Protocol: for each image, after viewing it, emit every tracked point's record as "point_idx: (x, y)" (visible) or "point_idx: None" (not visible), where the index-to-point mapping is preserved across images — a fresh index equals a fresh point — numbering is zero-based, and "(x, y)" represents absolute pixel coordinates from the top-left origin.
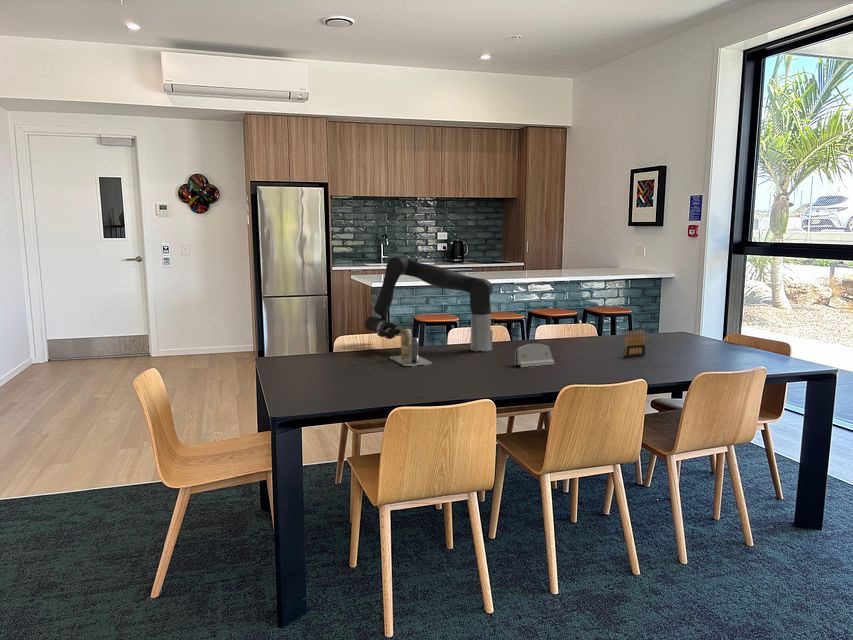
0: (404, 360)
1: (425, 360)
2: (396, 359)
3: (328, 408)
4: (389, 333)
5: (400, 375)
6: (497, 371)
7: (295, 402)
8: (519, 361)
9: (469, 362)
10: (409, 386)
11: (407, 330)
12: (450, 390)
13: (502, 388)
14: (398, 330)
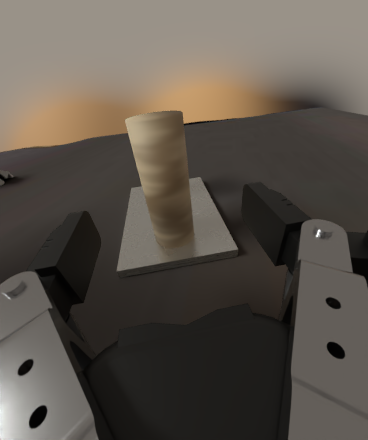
0: (192, 203)
1: (135, 200)
2: (215, 212)
3: (286, 113)
4: (256, 182)
5: (217, 154)
6: (65, 167)
7: (327, 114)
8: (1, 170)
9: (39, 204)
10: (211, 136)
11: (154, 112)
12: None
13: (122, 138)
14: (90, 363)
